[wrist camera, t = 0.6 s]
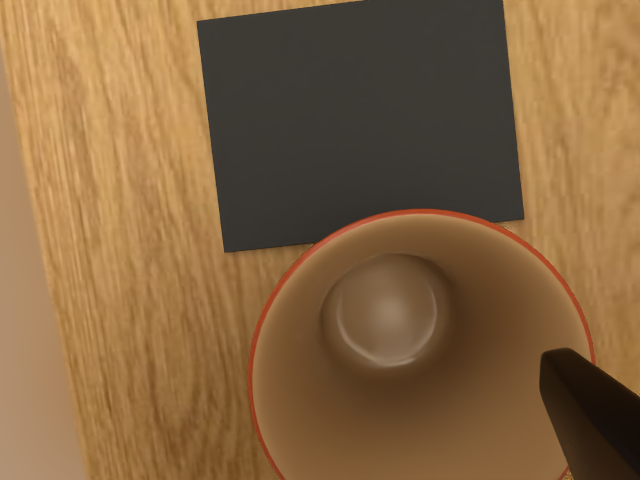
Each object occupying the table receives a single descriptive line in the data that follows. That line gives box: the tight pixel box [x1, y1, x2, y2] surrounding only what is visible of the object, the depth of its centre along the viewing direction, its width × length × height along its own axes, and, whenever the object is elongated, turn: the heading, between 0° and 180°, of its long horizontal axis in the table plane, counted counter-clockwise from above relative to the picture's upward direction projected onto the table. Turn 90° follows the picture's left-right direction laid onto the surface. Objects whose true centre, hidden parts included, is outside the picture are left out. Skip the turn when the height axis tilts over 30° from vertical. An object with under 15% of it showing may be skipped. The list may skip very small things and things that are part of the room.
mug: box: [247, 209, 596, 480], centre depth 19 cm, size 12×9×10 cm
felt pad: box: [197, 0, 524, 253], centre depth 24 cm, size 10×13×1 cm
